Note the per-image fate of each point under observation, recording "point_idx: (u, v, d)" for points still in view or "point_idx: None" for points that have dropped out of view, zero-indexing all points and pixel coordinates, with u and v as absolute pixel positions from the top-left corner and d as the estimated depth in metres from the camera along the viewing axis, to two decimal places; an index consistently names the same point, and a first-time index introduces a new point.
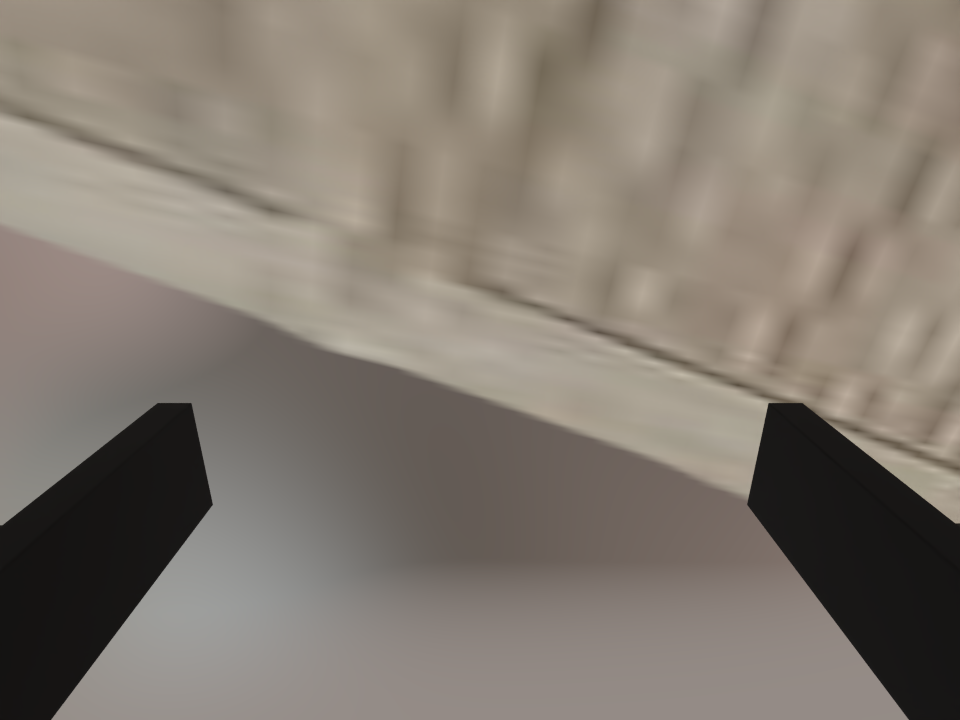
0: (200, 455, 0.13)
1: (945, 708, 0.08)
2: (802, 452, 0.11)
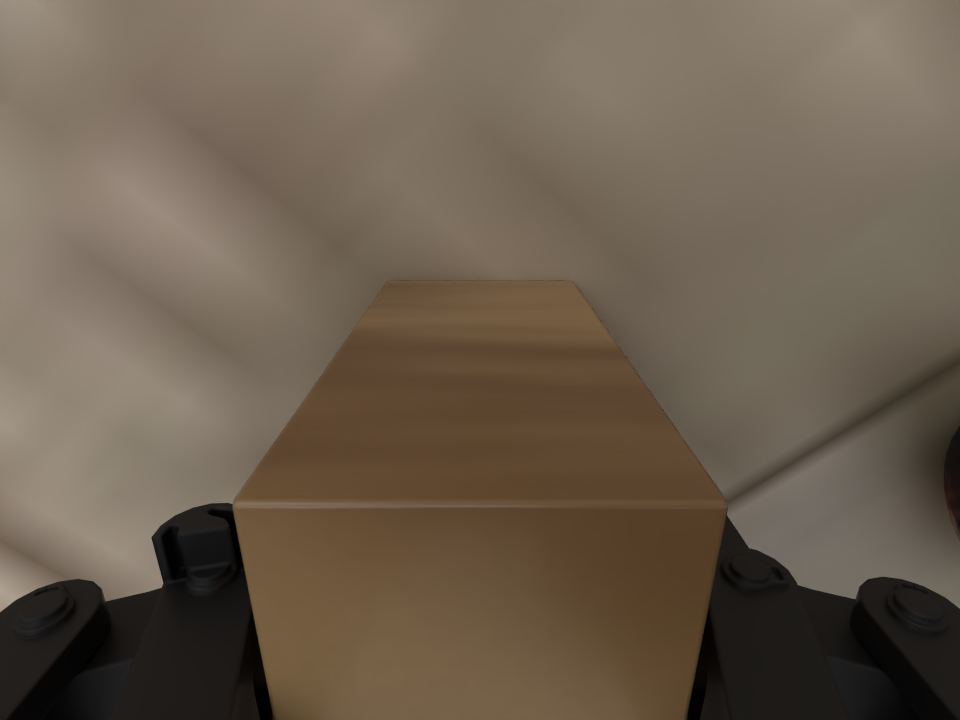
0: None
1: None
2: None
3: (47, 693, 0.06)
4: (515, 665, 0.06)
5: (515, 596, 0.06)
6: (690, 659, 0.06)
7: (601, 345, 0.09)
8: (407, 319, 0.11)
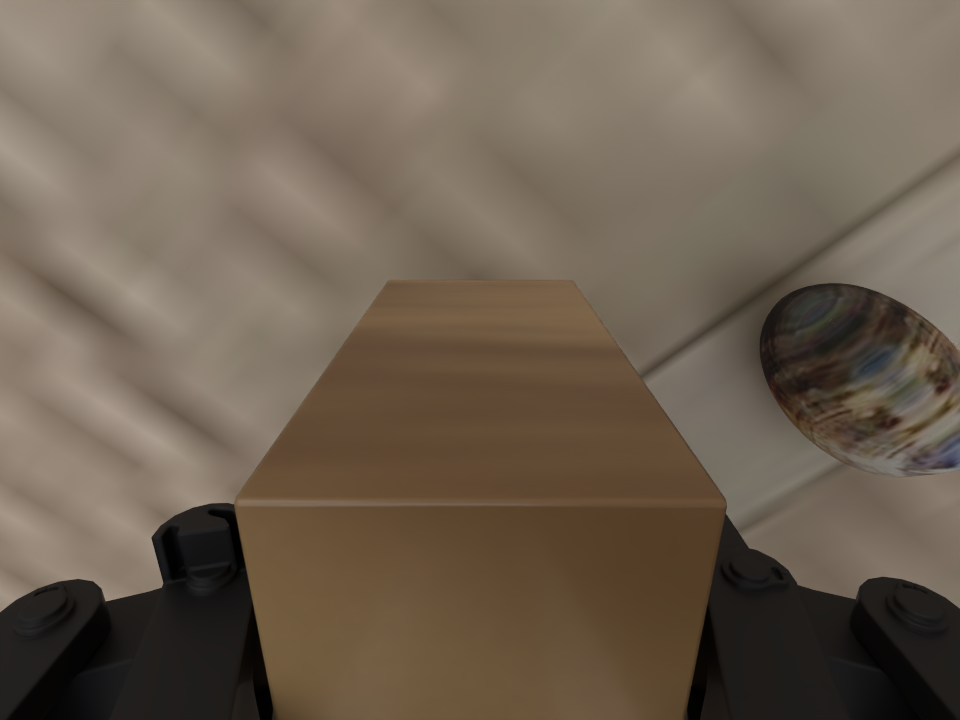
0: None
1: None
2: None
3: (47, 693, 0.06)
4: (515, 662, 0.06)
5: (515, 592, 0.06)
6: (689, 657, 0.06)
7: (601, 344, 0.09)
8: (407, 318, 0.11)
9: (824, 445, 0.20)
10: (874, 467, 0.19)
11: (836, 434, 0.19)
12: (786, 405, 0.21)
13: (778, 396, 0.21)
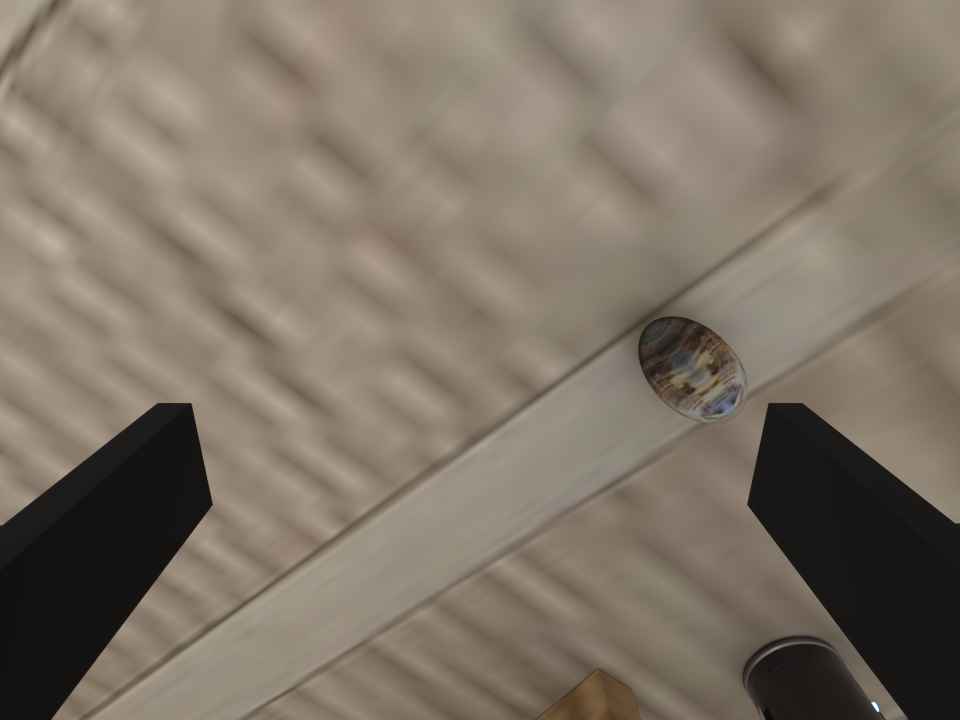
0: (200, 455, 0.13)
1: (945, 708, 0.08)
2: (801, 452, 0.11)
3: None
4: None
5: None
6: None
7: None
8: (613, 706, 0.50)
9: (669, 405, 0.37)
10: (691, 415, 0.36)
11: (670, 397, 0.36)
12: (650, 383, 0.38)
13: (646, 378, 0.38)
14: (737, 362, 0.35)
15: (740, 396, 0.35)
